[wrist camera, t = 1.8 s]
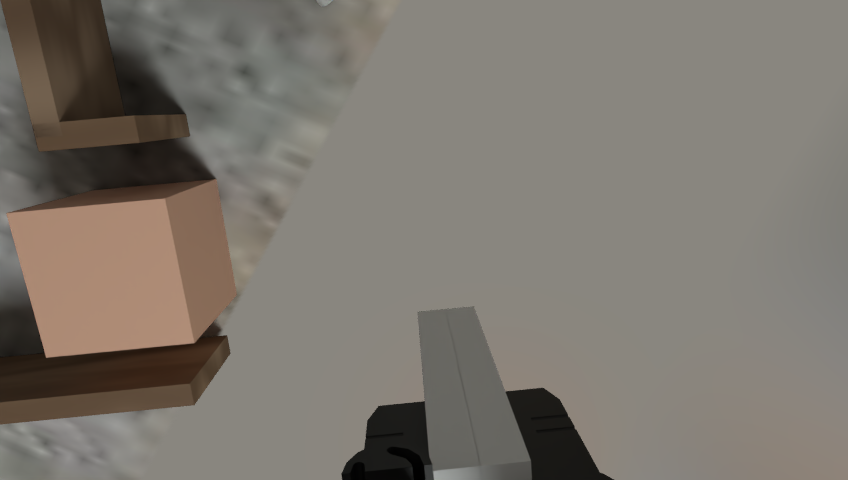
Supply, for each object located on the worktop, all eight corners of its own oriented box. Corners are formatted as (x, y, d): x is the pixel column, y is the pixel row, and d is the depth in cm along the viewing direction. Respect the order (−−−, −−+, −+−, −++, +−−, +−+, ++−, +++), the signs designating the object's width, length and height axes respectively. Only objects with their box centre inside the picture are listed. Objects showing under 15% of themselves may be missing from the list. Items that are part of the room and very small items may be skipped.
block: (93, 190, 31) (6, 213, 24) (216, 178, 31) (164, 198, 24) (120, 305, 32) (46, 357, 26) (237, 294, 33) (194, 343, 26)
